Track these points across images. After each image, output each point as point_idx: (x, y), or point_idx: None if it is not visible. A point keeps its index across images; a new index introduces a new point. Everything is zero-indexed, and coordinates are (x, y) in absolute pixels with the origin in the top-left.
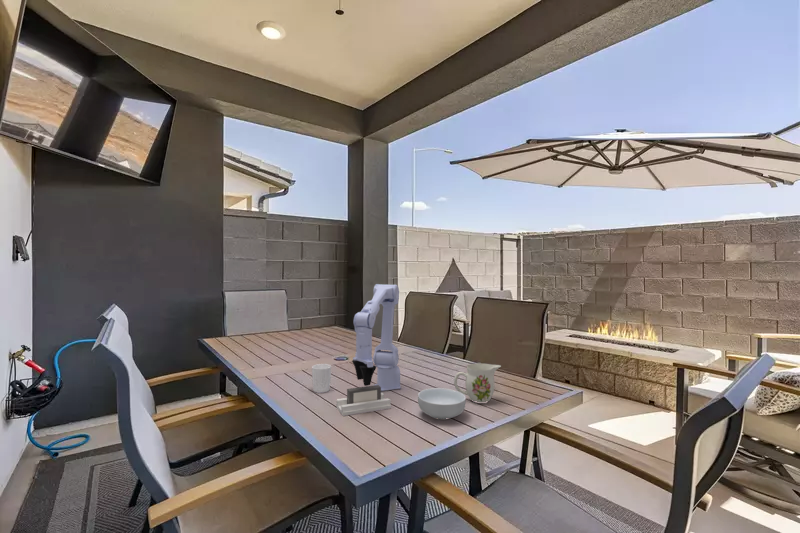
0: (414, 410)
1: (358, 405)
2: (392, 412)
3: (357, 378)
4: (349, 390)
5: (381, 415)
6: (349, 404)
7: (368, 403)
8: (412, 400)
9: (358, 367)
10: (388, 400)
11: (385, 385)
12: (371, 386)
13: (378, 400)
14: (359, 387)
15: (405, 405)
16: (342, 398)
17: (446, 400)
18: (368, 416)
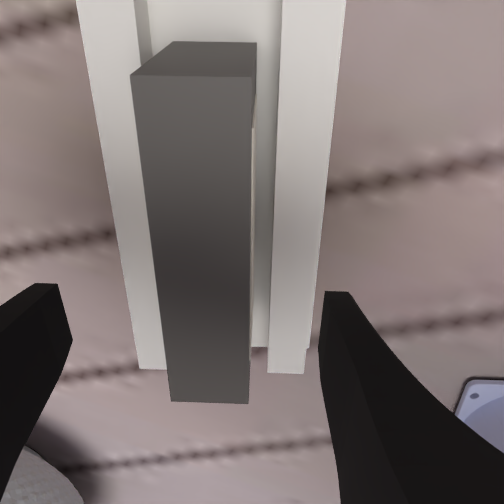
0: (82, 409)
1: (100, 123)
2: (79, 313)
3: (344, 296)
4: (169, 87)
5: (41, 241)
6: (125, 37)
7: (113, 216)
8: (228, 449)
9: (363, 453)
10: (139, 355)
11: (479, 434)
12: (225, 348)
13: (153, 302)
14: (241, 239)
15: (168, 402)
16: (338, 17)
17: None
18: (38, 155)
